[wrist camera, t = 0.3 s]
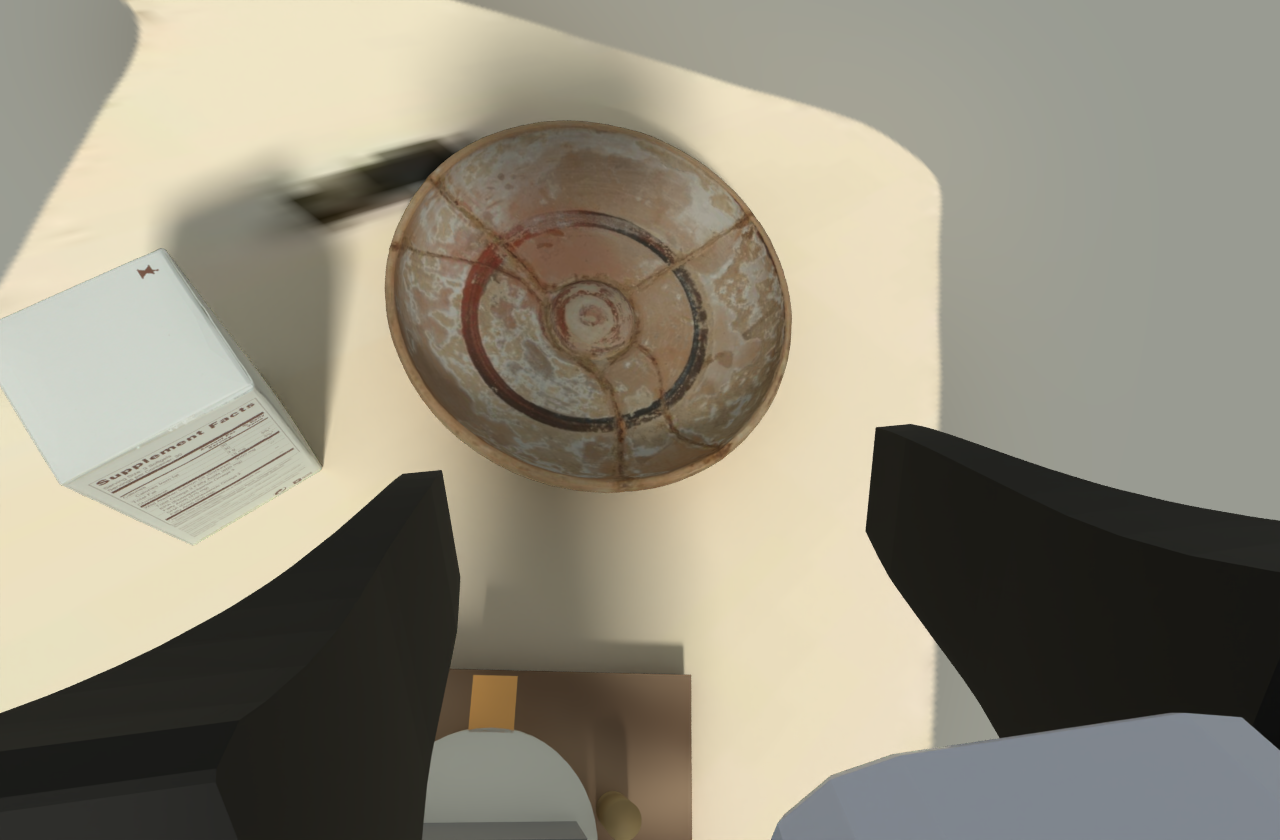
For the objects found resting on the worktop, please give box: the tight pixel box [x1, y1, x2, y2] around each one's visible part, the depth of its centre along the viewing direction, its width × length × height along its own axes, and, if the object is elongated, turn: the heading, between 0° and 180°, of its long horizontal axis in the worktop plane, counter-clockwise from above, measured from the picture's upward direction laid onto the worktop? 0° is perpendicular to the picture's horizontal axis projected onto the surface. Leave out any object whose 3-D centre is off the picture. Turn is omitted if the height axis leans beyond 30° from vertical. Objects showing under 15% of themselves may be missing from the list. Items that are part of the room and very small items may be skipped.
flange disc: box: [422, 675, 598, 840], centre depth 30 cm, size 12×10×5 cm
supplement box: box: [0, 248, 322, 545], centre depth 33 cm, size 7×7×13 cm
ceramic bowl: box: [385, 120, 792, 493], centre depth 43 cm, size 23×24×5 cm
